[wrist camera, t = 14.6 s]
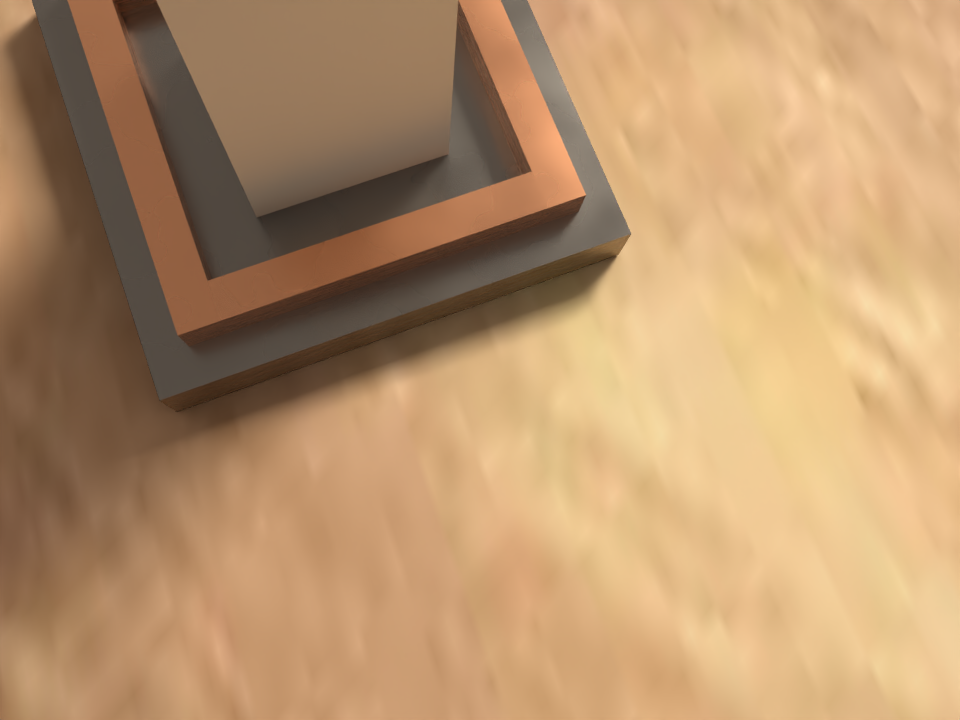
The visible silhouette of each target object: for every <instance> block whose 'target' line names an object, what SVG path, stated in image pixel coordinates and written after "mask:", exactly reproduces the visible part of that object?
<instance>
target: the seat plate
mask: <svg viewBox="0 0 960 720" xmlns="http://www.w3.org/2000/svg"><path fill="white" fill-rule="evenodd" d="M32 3H33V6H34V9H35V12H36V15H37V18H38V21H39V24H40V28H41V31H42V34H43V37H44V40H45V43H46V46H47V50H48V53H49V56H50V59H51V62H52V65H53V68H54V71H55V75H56V78H57V81H58V84H59V87H60V90H61V93H62V97H63V100H64V103H65V106H66V109H67V112H68V115H69V118H70V122H71V125H72V128H73V131H74V134H75V137H76V140H77V144H78V147H79V150H80V153H81V156H82V159H83V162H84V165H85V169H86V172H87V175H88V178H89V181H90V184H91V187H92V190H93V194H94V197H95V200H96V203H97V206H98V209H99V212H100V216H101V219H102V222H103V225H104V228H105V231H106V234H107V237H108V241H109V244H110V247H111V250H112V253H113V256H114V259H115V263H116V266H117V269H118V272H119V275H120V278H121V281H122V284H123V288H124V291H125V294H126V297H127V300H128V303H129V306H130V310H131V313H132V316H133V319H134V322H135V325H136V328H137V331H138V335H139V338H140V341H141V344H142V347H143V350H144V353H145V356H146V360H147V363H148V366H149V369H150V372H151V375H152V378H153V382H154V385H155V388H156V391H157V394H158V397H159V400H160V401H161V402H163V403H164V404H166V405H167V406H169V407H170V408H172V409H173V410H175V411H176V412H178V411H180V410H183V409H186V408H189V407H192V406H194V405H197V404H200V403H203V402H206V401H208V400H211V399H214V398H217V397H220V396H223V395H225V394H228V393H231V392H234V391H237V390H239V389H242V388H245V387H248V386H251V385H253V384H256V383H259V382H262V381H265V380H267V379H270V378H273V377H276V376H279V375H282V374H284V373H287V372H290V371H293V370H296V369H298V368H301V367H304V366H307V365H310V364H312V363H315V362H318V361H321V360H324V359H326V358H329V357H332V356H335V355H338V354H340V353H343V352H346V351H349V350H352V349H355V348H357V347H360V346H363V345H366V344H369V343H371V342H374V341H377V340H380V339H383V338H385V337H388V336H391V335H394V334H397V333H399V332H402V331H405V330H408V329H411V328H414V327H416V326H419V325H422V324H425V323H428V322H430V321H433V320H436V319H439V318H442V317H444V316H447V315H450V314H453V313H456V312H458V311H461V310H464V309H467V308H470V307H473V306H475V305H478V304H481V303H484V302H487V301H489V300H492V299H495V298H498V297H501V296H503V295H506V294H509V293H512V292H515V291H517V290H520V289H523V288H526V287H529V286H532V285H534V284H537V283H540V282H543V281H546V280H548V279H551V278H554V277H557V276H560V275H562V274H565V273H568V272H571V271H574V270H576V269H579V268H582V267H585V266H588V265H590V264H593V263H596V262H599V261H602V260H605V259H607V258H610V257H613V256H616V255H619V253H620V251H621V250H622V248H623V246H624V245H625V243H626V242H627V240H628V238H629V237H630V235H631V232H630V230H629V228H628V226H627V223H626V221H625V219H624V217H623V214H622V212H621V210H620V208H619V205H618V203H617V201H616V199H615V196H614V194H613V192H612V190H611V187H610V185H609V183H608V181H607V178H606V176H605V174H604V172H603V169H602V167H601V165H600V163H599V160H598V158H597V156H596V154H595V151H594V149H593V147H592V145H591V143H590V140H589V138H588V136H587V134H586V131H585V129H584V127H583V125H582V122H581V120H580V118H579V116H578V113H577V111H576V109H575V107H574V104H573V102H572V100H571V98H570V95H569V93H568V91H567V89H566V86H565V84H564V82H563V80H562V77H561V75H560V73H559V71H558V68H557V66H556V64H555V62H554V59H553V57H552V55H551V53H550V50H549V48H548V46H547V44H546V42H545V39H544V37H543V35H542V33H541V30H540V28H539V26H538V24H537V21H536V19H535V17H534V15H533V12H532V10H531V8H530V6H529V3H528V1H527V0H458V12H457V28H456V44H455V60H454V76H453V92H452V108H451V124H450V140H449V154H448V155H445V156H442V157H439V158H435V159H432V160H429V161H426V162H423V163H420V164H417V165H414V166H411V167H408V168H405V169H402V170H399V171H396V172H393V173H390V174H387V175H384V176H381V177H378V178H375V179H372V180H369V181H366V182H363V183H360V184H357V185H354V186H351V187H348V188H345V189H341V190H338V191H335V192H332V193H329V194H326V195H323V196H320V197H317V198H314V199H311V200H308V201H305V202H302V203H299V204H296V205H293V206H290V207H287V208H284V209H281V210H278V211H275V212H272V213H269V214H266V215H263V216H260V217H256V215H255V213H254V211H253V208H252V206H251V204H250V202H249V200H248V198H247V195H246V193H245V191H244V189H243V187H242V185H241V182H240V180H239V178H238V176H237V174H236V172H235V169H234V167H233V165H232V163H231V161H230V159H229V157H228V154H227V152H226V150H225V148H224V146H223V144H222V141H221V139H220V137H219V135H218V133H217V131H216V128H215V126H214V124H213V122H212V120H211V118H210V115H209V113H208V111H207V109H206V107H205V105H204V103H203V100H202V98H201V96H200V94H199V92H198V90H197V87H196V85H195V83H194V81H193V79H192V77H191V74H190V72H189V70H188V68H187V66H186V64H185V61H184V59H183V57H182V55H181V53H180V51H179V49H178V46H177V44H176V42H175V40H174V38H173V36H172V33H171V31H170V29H169V27H168V25H167V23H166V20H165V18H164V16H163V14H162V12H161V10H160V7H159V5H158V3H157V1H156V0H32Z"/></svg>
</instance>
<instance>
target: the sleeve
mask: <svg viewBox="0 0 960 720" xmlns="http://www.w3.org/2000/svg"><path fill="white" fill-rule="evenodd" d="M156 1H157V3H158V5H159V7H160V10H161V12H162V14H163V16H164V18H165V20H166V23H167V25H168V27H169V29H170V31H171V33H172V36H173V38H174V40H175V42H176V44H177V46H178V49H179V51H180V53H181V55H182V57H183V59H184V61H185V64H186V66H187V68H188V70H189V72H190V74H191V77H192V79H193V81H194V83H195V85H196V87H197V90H198V92H199V94H200V96H201V98H202V100H203V103H204V105H205V107H206V109H207V111H208V113H209V115H210V118H211V120H212V122H213V124H214V126H215V128H216V131H217V133H218V135H219V137H220V139H221V141H222V144H223V146H224V148H225V150H226V152H227V154H228V157H229V159H230V161H231V163H232V165H233V167H234V169H235V172H236V174H237V176H238V178H239V180H240V182H241V185H242V187H243V189H244V191H245V193H246V195H247V198H248V200H249V202H250V204H251V206H252V208H253V211H254V213H255V215H256V217H260V216H263V215H266V214H269V213H272V212H275V211H278V210H281V209H284V208H287V207H290V206H293V205H296V204H299V203H302V202H305V201H308V200H311V199H314V198H317V197H320V196H323V195H326V194H329V193H332V192H335V191H338V190H341V189H345V188H348V187H351V186H354V185H357V184H360V183H363V182H366V181H369V180H372V179H375V178H378V177H381V176H384V175H387V174H390V173H393V172H396V171H399V170H402V169H405V168H408V167H411V166H414V165H417V164H420V163H423V162H426V161H429V160H432V159H435V158H439V157H442V156H445V155H448V154H449V140H450V124H451V108H452V92H453V76H454V60H455V44H456V28H457V12H458V0H156Z"/></svg>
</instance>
